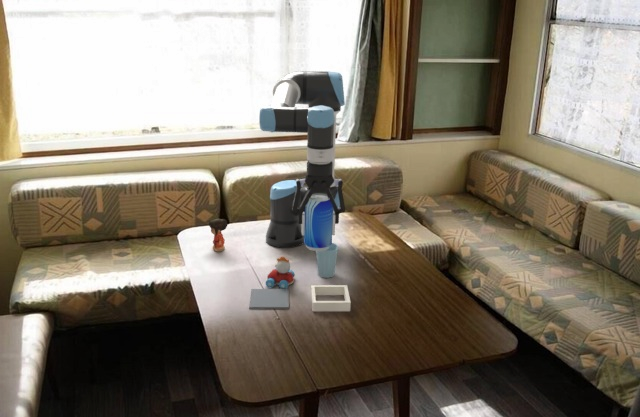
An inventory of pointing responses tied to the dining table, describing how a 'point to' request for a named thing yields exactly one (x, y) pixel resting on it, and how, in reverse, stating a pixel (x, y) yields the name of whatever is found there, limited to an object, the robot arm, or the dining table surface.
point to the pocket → (330, 304)
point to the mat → (269, 299)
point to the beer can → (318, 222)
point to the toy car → (280, 274)
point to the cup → (327, 261)
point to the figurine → (218, 233)
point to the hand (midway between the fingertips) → (318, 233)
